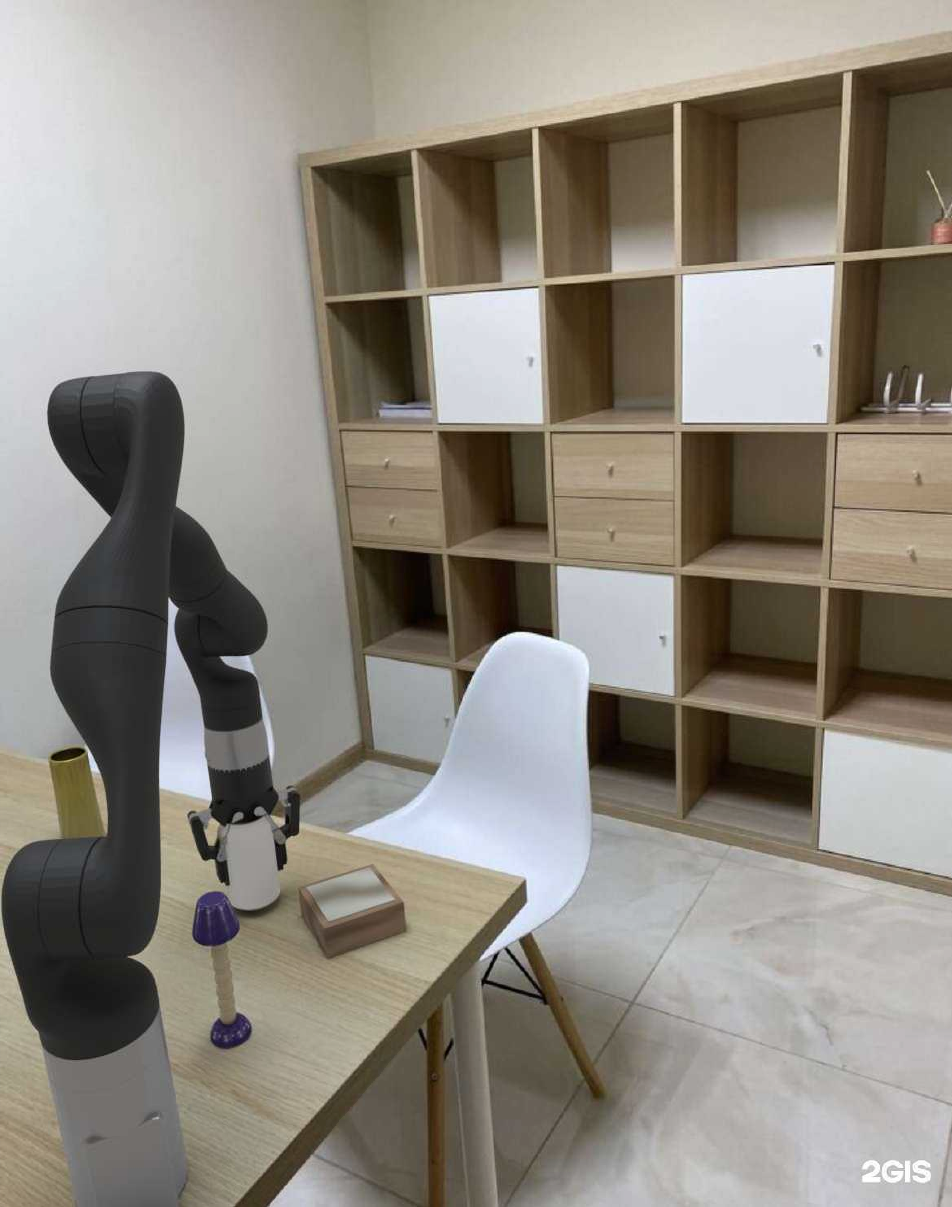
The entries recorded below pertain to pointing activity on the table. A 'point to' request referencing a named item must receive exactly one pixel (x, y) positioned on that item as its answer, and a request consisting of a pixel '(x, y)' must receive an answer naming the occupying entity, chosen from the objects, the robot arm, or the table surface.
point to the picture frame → (351, 910)
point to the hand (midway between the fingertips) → (253, 874)
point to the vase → (75, 794)
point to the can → (251, 864)
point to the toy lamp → (221, 965)
